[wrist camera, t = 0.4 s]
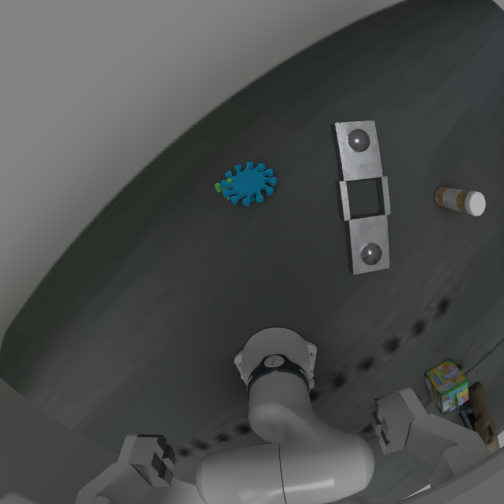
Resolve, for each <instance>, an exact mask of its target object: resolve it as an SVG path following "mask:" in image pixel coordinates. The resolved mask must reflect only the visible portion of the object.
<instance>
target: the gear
mask: <svg viewBox="0 0 504 504" xmlns="http://www.w3.org/2000/svg"><path fill="white" fill-rule="evenodd" d="M234 168H235V171H236V172H237V175H236V176H234V177H233V176H232V172H231V171H228V172H227V173H225V177H226V179H227V181H226V180H223V181H222V182H221V184H220V183H216V184H215V188H216V191H217V192H220V191H222V193H223V195H224V198H227V200H231V202H232V203H233V204H234V205H235V204H237V203H238V201H239V200H240V199H241V198H243V197H245V196H247V197H246V198H244V199H243V200H242V203H243V205H245V206H250V204H251V203H250V201H251V202H254V201H255V196H254V195H255V194H257V196H256V202H257V203H260V202H263V201H264V198H263V195H262V194H261V193H260V192H261V190H262V189H265V190H266V194H267V195H271V194H273V193H274V190H273V188H272V187H269V186H267V185H266V184H265V183H266V182H269V183H270V184H271V185H272V186H275V185H276V183H277V179H276V178H275V177H272V176H273V170H272V169H271V168H270V169H268V170H266V171H263V170H265V169H266V167H265V165H264V164H263V163H260V164H259V165H258V166H257V167H256V168H254V164H253V162H247V167H246V169H245V170H244V171H242V172H241V170H242V167H241V165H236V166H234ZM252 168H254V169H252ZM250 169H252V170H250ZM258 171H262V172H258ZM264 176H269V177H272V178H267V177H264ZM233 194H238V195H236V196H231V197H230V195H233Z"/></svg>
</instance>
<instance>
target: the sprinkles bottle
mask: <svg viewBox="0 0 504 504" xmlns="http://www.w3.org/2000/svg"><path fill="white" fill-rule="evenodd" d="M435 200H436V203H437V204H438V205H439V206H441V207H446V208H449V209H452V210H456V211H460V212H466V213H468V214H470V215H473V216H480V215H481V214H482V213H483V212H484V209H485V199H484V196H483V195H482V194H481V193H480V192H476V191H465V190H460V189H453V188H446V187H440V188H438V189H437V191H436V193H435Z"/></svg>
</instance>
